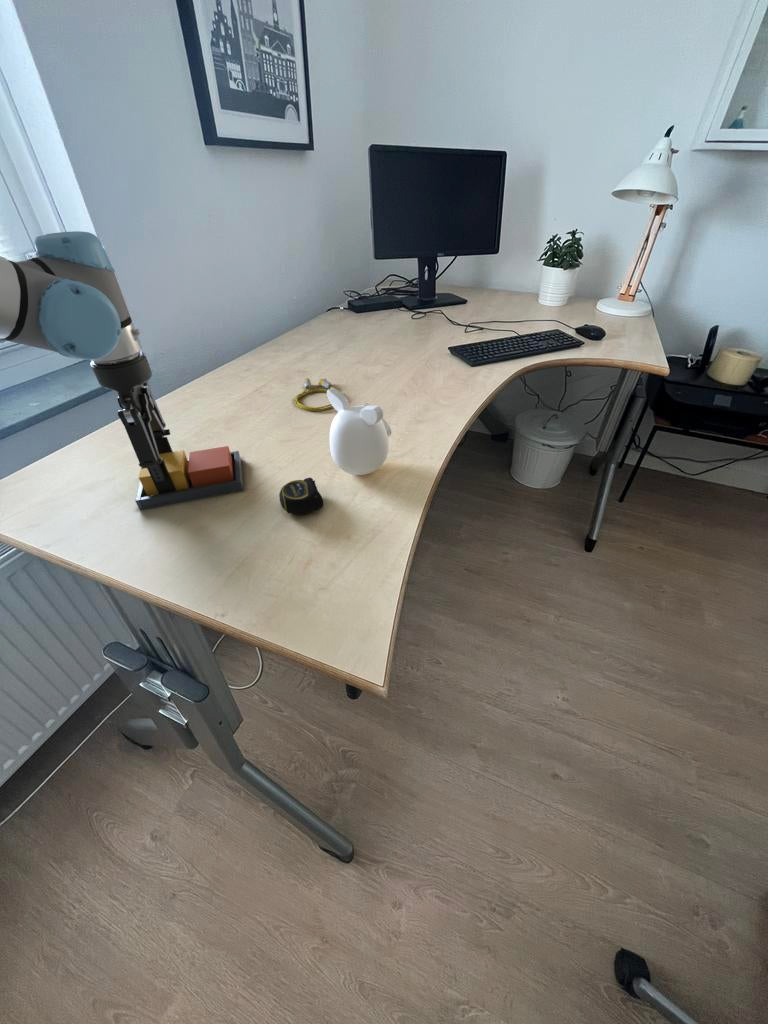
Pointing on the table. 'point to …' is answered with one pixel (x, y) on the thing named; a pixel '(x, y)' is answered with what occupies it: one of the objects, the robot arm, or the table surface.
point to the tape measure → (300, 497)
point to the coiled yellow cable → (307, 386)
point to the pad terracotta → (210, 467)
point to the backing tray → (193, 489)
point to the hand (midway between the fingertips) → (169, 480)
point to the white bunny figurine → (357, 436)
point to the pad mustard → (176, 469)
